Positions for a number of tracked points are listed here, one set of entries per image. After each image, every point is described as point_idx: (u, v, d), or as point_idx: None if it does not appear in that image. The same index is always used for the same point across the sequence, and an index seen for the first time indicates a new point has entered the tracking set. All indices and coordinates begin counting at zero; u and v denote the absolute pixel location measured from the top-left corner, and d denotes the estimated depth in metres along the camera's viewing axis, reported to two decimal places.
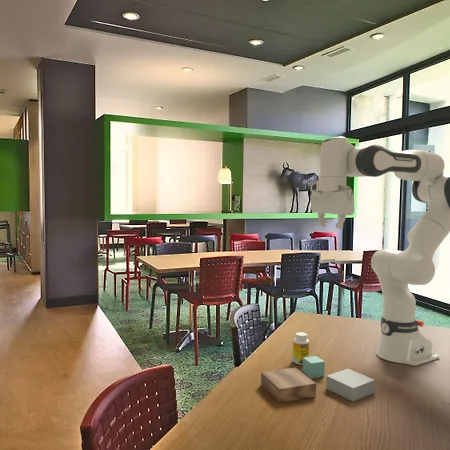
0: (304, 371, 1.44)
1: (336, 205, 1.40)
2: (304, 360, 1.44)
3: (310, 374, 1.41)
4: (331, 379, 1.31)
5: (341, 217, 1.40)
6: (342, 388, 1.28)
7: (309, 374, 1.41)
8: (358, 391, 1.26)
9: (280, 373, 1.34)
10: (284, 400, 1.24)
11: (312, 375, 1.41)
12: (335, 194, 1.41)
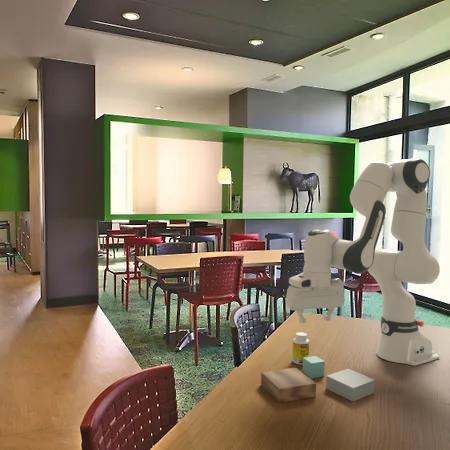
0: (304, 371, 1.44)
1: (333, 298, 1.42)
2: (304, 360, 1.44)
3: (310, 374, 1.41)
4: (331, 379, 1.31)
5: None
6: (342, 388, 1.28)
7: (309, 374, 1.41)
8: (358, 391, 1.26)
9: (280, 373, 1.34)
10: (284, 400, 1.24)
11: (312, 375, 1.41)
12: (330, 288, 1.41)
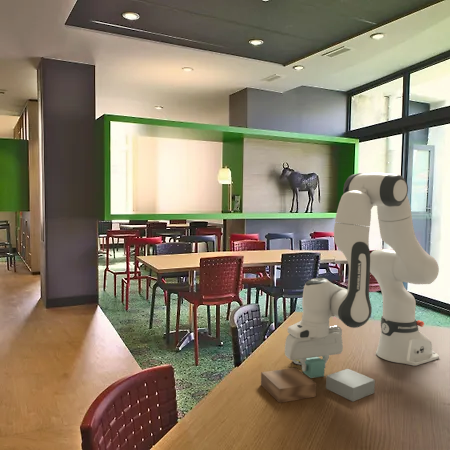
0: (304, 371, 1.44)
1: (331, 346, 1.43)
2: None
3: (310, 374, 1.41)
4: (331, 379, 1.31)
5: None
6: (342, 388, 1.28)
7: (309, 374, 1.41)
8: (358, 391, 1.26)
9: (280, 373, 1.34)
10: (284, 400, 1.24)
11: (312, 375, 1.41)
12: (329, 336, 1.43)
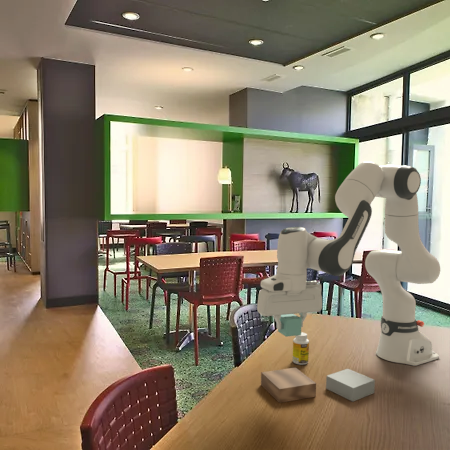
0: (279, 330, 1.30)
1: (309, 302, 1.30)
2: None
3: (285, 332, 1.27)
4: (331, 379, 1.31)
5: None
6: (342, 388, 1.28)
7: (284, 332, 1.28)
8: (358, 391, 1.26)
9: (280, 373, 1.34)
10: (284, 400, 1.24)
11: (287, 333, 1.27)
12: (306, 291, 1.29)
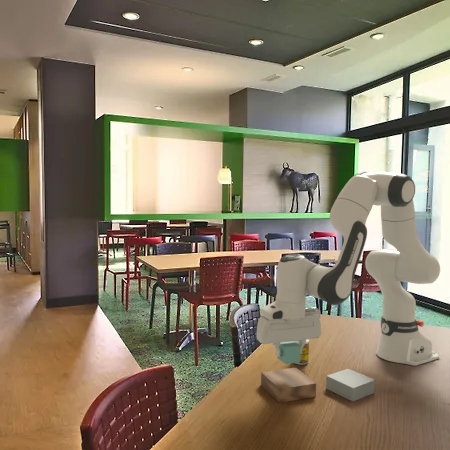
0: None
1: (308, 329, 1.30)
2: None
3: (284, 359, 1.28)
4: (331, 379, 1.31)
5: None
6: (342, 388, 1.28)
7: (283, 359, 1.28)
8: (358, 391, 1.26)
9: (280, 373, 1.34)
10: (284, 400, 1.24)
11: (287, 360, 1.27)
12: (305, 318, 1.29)
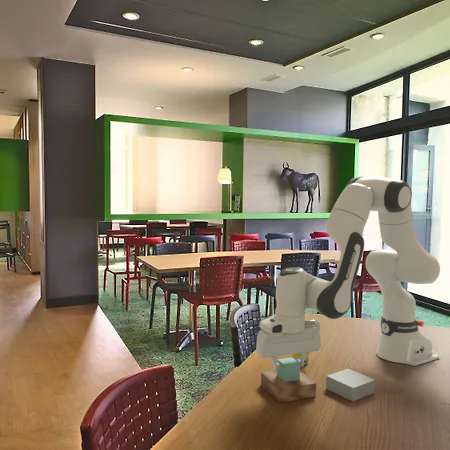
0: (278, 374, 1.32)
1: (307, 342, 1.30)
2: (278, 362, 1.31)
3: (284, 377, 1.28)
4: (331, 379, 1.31)
5: None
6: (342, 388, 1.28)
7: (283, 377, 1.29)
8: (358, 391, 1.26)
9: None
10: (284, 400, 1.24)
11: (286, 378, 1.28)
12: (305, 331, 1.30)
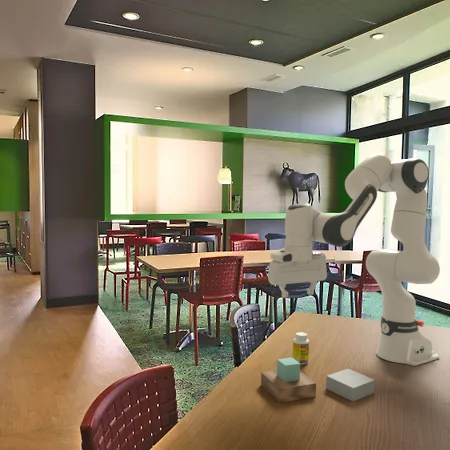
0: (278, 374, 1.32)
1: (315, 272, 1.42)
2: (278, 362, 1.31)
3: (284, 377, 1.28)
4: (331, 379, 1.31)
5: None
6: (342, 388, 1.28)
7: (283, 377, 1.29)
8: (358, 391, 1.26)
9: None
10: (284, 400, 1.24)
11: (286, 378, 1.28)
12: (312, 262, 1.41)
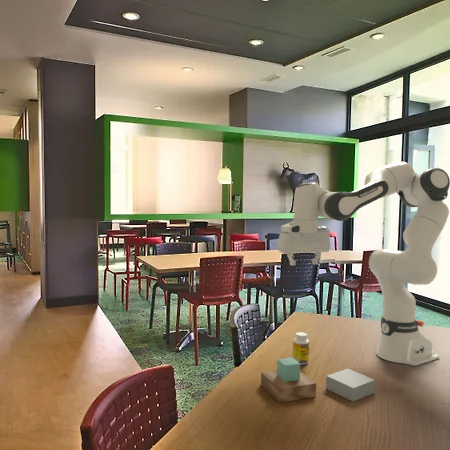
0: (278, 374, 1.32)
1: (320, 244, 1.60)
2: (278, 362, 1.31)
3: (284, 377, 1.28)
4: (331, 379, 1.31)
5: None
6: (342, 388, 1.28)
7: (283, 377, 1.29)
8: (358, 391, 1.26)
9: None
10: (284, 400, 1.24)
11: (286, 378, 1.28)
12: (317, 234, 1.59)
